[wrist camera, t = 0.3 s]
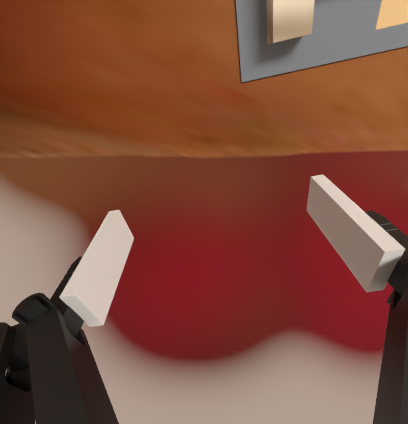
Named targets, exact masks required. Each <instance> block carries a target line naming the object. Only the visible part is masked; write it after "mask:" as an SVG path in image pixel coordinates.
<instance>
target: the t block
mask: <svg viewBox="0 0 408 424" xmlns="http://www.w3.org/2000/svg"><path fill="white" fill-rule="evenodd" d="M314 2H315V0H267V44H271V43H275V42H280V41H284V40H288V39H293V38H297V37H301V36H305V35H309V34H312V26H313V14H314Z"/></svg>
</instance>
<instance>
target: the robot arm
mask: <svg viewBox="0 0 408 424" xmlns="http://www.w3.org/2000/svg"><path fill="white" fill-rule="evenodd" d="M307 212H308V213H309V214H310V216H311V217H312V219H313V220H314V221H315V223H316V224H317V225H318V227H319V228H320V229H321V231H322V232H323V234H324V235H325V236H326V238H327V239H328V240H329V241H330V243H331V244H332V246H333V247H334V249H335V250H336V251H337V253H338V254H339V255H340V257H341V258H342V259H343V261H344V262H345V264H346V265H347V266H348V268H349V269H350V270H351V272H352V273H353V274H354V276H355V277H356V279H357V280H358V281H359V283H360V284H361V285H362V287H363V288H364V289H365V291H366V292H370V291H379V290H384V288H385V286H386V284H387V282H388V283H389V284H390V285H391V286H392V287H393V288H394V290H393V292H392V293H391V295H390V297H389V298H388V300H387V303H390V308H389V315H388V322H387V329H386V336H385V343H384V350H383V357H382V364H381V371H380V378H379V385H378V392H377V398H376V406H375V413H374V419H373V424H408V237H407V236H406V235H405V234H404V233H403V232H402V231H400V230H398V228H397V227H395V226H394V225H393V224H391V222H390V221H388V220H387V219H386V218H385V217H383V216H382V215H380V214H378V213H376V212H373V211H368V212H364V211H363V210H362V209H361V208H359V207H358V206H357V205H356V204H355V203H354V202H353V201H352V200H351V199H349V198H348V197H347V196H346V195H345V194H344V193H343V192H342V191H341V190H340V189H338V188H337V187H336V186H335V185H334V184H333V183H332V182H331V181H330V180H328V179H327V178H326V177H325V176H324V175H318V176H312V177H311V180H310V188H309V196H308V204H307ZM133 240H134V237H133V235H132V233H131V231H130V230H129V228H128V226H127V224H126V222H125V220H124V218H123V216H122V214H121V212H120V210H116V211H110V212H109V213H108V215H107V216H106V218H105V219H104V221H103V223H102V225H101V227H100V228H99V230H98V232H97V233H96V235H95V237H94V239H93V240H92V242H91V244H90V245H89V247H88V249H87V250H86V252H85V254H84V256H83V257H79V258H78V259H77V260H76V261H75V262H74V263H73V264H72V265H71V267H70V268H69V270H68V271H67V274H66V275H65V276H64V278H63V280H62V281H61V283H60V284H59V286H58V288H57V289H56V291H55V293H54V294H53V296H52V297H51V299H49V298H47V297H46V296H45V295H44V294H42V293H36V294H33V295H31V296H29V297H27V298H26V299H24V300H23V301H22V302H21V303H20V304H19V305H18V306H17V307H16V308H15V310H14V311H13V314H12V318H13V319H15V320H16V321H18V322H19V324H17V325H14V326H12V327H11V326H9V325H8V324H7V323H0V424H35V419H36V424H119V423H118V421H117V418H116V415H115V412H114V410H113V407H112V404H111V402H110V399H109V397H108V394H107V391H106V389H105V386H104V383H103V381H102V378H101V375H100V373H99V370H98V368H97V365H96V362H95V359H94V357H93V354H92V352H91V349H90V346H89V344H88V341H87V338H86V336H85V333H84V331H83V330H82V329H81V327H82V324H83V322H85V323H86V324H87V325H88V326H89V327H93V326H101V325H104V322H105V319H106V316H107V313H108V310H109V308H110V305H111V302H112V299H113V296H114V294H115V291H116V288H117V285H118V282H119V279H120V277H121V273H122V271H123V268H124V265H125V262H126V259H127V257H128V254H129V251H130V248H131V245H132V242H133ZM6 370H7V373H6ZM5 373H6V376H5Z"/></svg>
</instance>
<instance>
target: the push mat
mask: <svg viewBox="0 0 408 424" xmlns="http://www.w3.org/2000/svg"><path fill="white" fill-rule="evenodd" d="M236 14H237V28H238V41H239V55H240V69H241V82H246V81H250V80H255V79H260V78H264V77H269V76H273V75H278V74H282V73H287V72H291V71H296V70H301V69H305V68H310V67H314V66H319V65H323V64H328V63H332V62H337V61H342V60H346V59H351V58H355V57H360V56H364V55H369V54H373V53H378V52H383V51H387V50H392V49H396V48H401V47H405V46H408V0H315V2H314V14H313V26H312V34H309V35H305V36H301V37H297V38H293V39H288V40H284V41H280V42H275V43H271V44H267V0H236Z"/></svg>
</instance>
